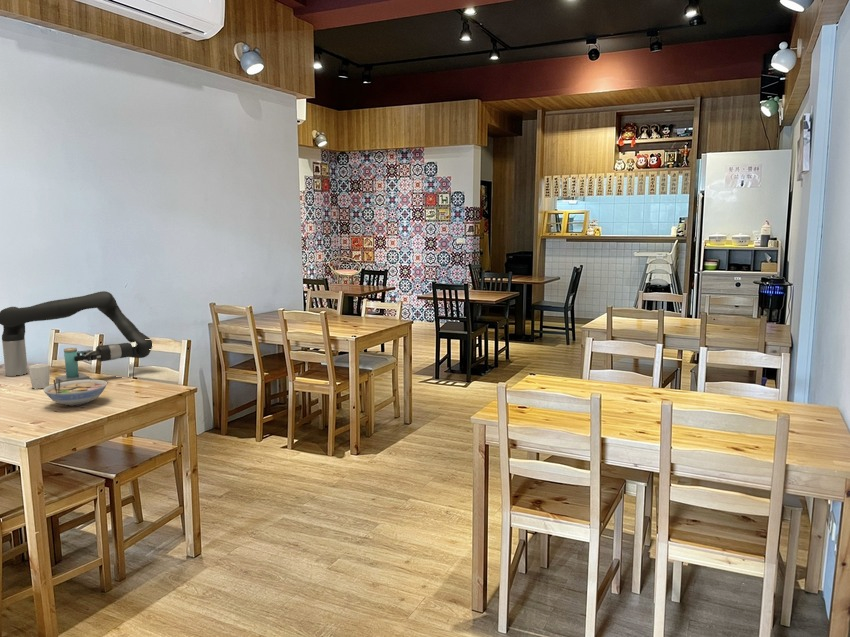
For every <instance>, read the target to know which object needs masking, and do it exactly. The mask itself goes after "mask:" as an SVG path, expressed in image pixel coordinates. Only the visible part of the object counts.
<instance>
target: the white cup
mask: <svg viewBox="0 0 850 637" xmlns="http://www.w3.org/2000/svg"><path fill="white" fill-rule="evenodd" d="M28 373H29V379H30V383H31V388H36V389H35V390H39V389H38V388H43V389H44V388H46V387H48V386H50V377H51V376H50V364H49V363H38V364H32V365H28Z"/></svg>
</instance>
